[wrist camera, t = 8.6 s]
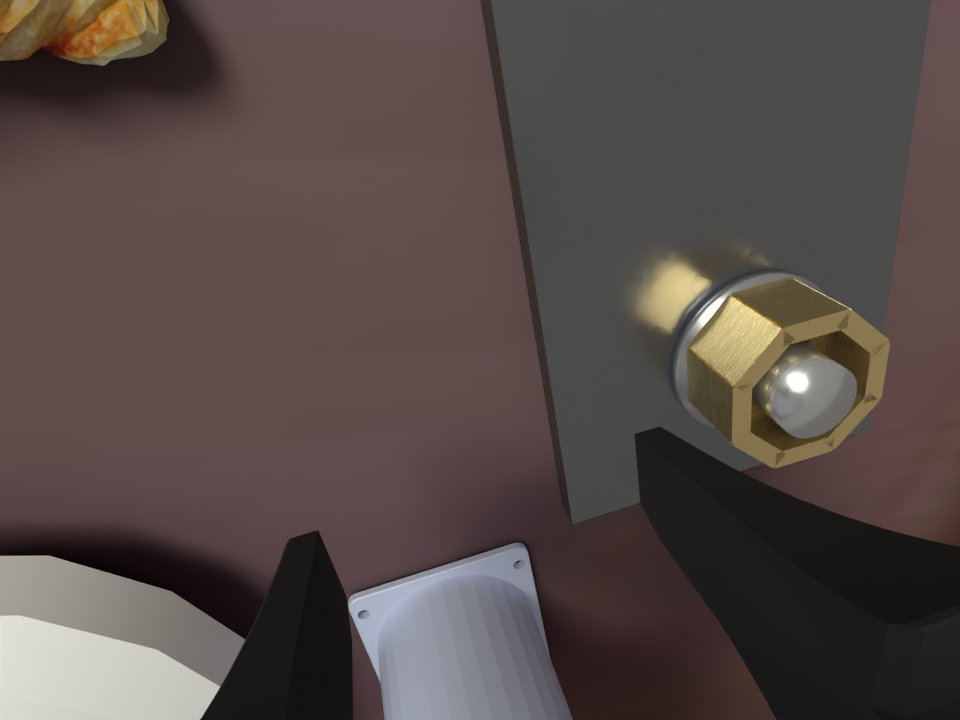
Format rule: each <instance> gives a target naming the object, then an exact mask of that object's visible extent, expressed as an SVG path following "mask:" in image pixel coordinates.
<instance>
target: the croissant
mask: <svg viewBox="0 0 960 720" xmlns="http://www.w3.org/2000/svg"><path fill="white" fill-rule="evenodd" d="M169 21H170V20H169V17H168V15H167V12H166V9H165V7H164V4H163V1H162V0H0V61H7V60H22V59H28V58H29V57H30V56H31V55H32V54H33V53H34V52H35V51H37V50H38V49H39V48H42V49H45V50H48V51H50V52H51V53H52V54H54V55H55V56H56V57H60V58H63V59H67V60H70V61H74V62H77V63H81V64H96V65H101V66H104V65H106V64H107V63H108V62H109V61H111V60H116V59H123V58H134V57H138V56H143V55H146V54H149V53H151V52H153V51H154V50H155V49H156V48H158V47H159V46H160V45H161V44H162V43H163V42H165V41H166V40H167V39H166V32H167V25H168V23H169Z"/></svg>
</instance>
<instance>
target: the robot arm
mask: <svg viewBox="0 0 960 720" xmlns="http://www.w3.org/2000/svg"><path fill="white" fill-rule="evenodd" d="M635 446H636V458H637V470H638V482H639V495H640V503H641V505H642V507H643V509H644V510H645V512H646V514H647V516H648V518H649V520H650V522H651V524H652V525H653V527H654V529H655V531H656V533H657V534H658V536H659V538H660V540H661V541H662V543H663V544H664V546H665V547H666V548H667V550H668V551H669V553H670V554H671V555H672V557H673V558H674V560H675V561H676V562H677V564H678V565H679V567H680V568H681V569H682V571H683V572H684V574H685V575H686V576H687V578H688V579H689V580H690V582H691V583H692V585H693V586H694V587H695V589H696V590H697V592H698V593H699V594H700V596H701V597H702V598H703V600H704V601H705V603H706V604H707V605H708V607H709V608H710V609H711V611H712V612H713V614H714V615H715V616H716V618H717V619H718V621H719V622H720V624H721V625H722V627H723V628H724V630H725V631H726V633H727V634H728V636H729V637H730V639H731V640H732V642H733V644H734V645H735V647H736V649H737V651H738V652H739V654H740V656H741V657H742V659H743V661H744V663H745V664H746V666H747V668H748V669H749V671H750V673H751V675H752V676H753V678H754V680H755V681H756V683H757V685H758V687H759V689H760V690H761V692H762V694H763V696H764V698H765V699H766V701H767V703H768V705H769V707H770V708H771V710H772V712H773V714H774V715H775V717H776V719H777V720H960V547H958V546H952V545H947V544H943V543H939V542H934V541H930V540H926V539H922V538H918V537H914V536H909V535H905V534H902V533H898V532H894V531H891V530H887V529H883V528H880V527H877V526H874V525H870V524H867V523H864V522H861V521H858V520H854V519H851V518H848V517H845V516H842V515H839V514H837V513H834V512H831V511H828V510H826V509H823V508H820V507H818V506H815V505H813V504H810V503H808V502H805V501H802V500H800V499H797V498H795V497H793V496H790V495H788V494H786V493H783V492H781V491H779V490H777V489H775V488H773V487H771V486H768V485H766V484H764V483H762V482H760V481H758V480H756V479H754V478H752V477H750V476H748V475H746V474H744V473H742V472H740V471H738V470H736V469H734V468H732V467H730V466H729V465H727V464H725V463H723V462H721V461H719V460H718V459H716V458H714V457H712V456H710V455H709V454H707V453H705V452H703V451H702V450H700V449H698V448H696V447H695V446H693V445H691V444H689V443H688V442H686V441H684V440H683V439H681V438H679V437H677V436H676V435H674V434H672V433H671V432H669V431H667V430H665V429H664V428H662V427H656V428H653V429H650V430H646V431H643V432H640V433H636V434H635ZM519 560H521V561H520V562H518V563H515V562H517V561H519ZM348 605H349V611H350V613H351V616H352V618H353V620H354V623H355V625H356V627H357V630H358V632H359V634H360V636H361V639H362V641H363V643H364V646H365V648H366V650H367V653H368V655H369V657H370V660H371V662H372V664H373V667H374V669H375V671H376V674H377V676H378V678H379V680H380V683H381V689H382V699H383V709H384V718H385V720H573V718H572V716H571V713H570V710H569V708H568V705H567V702H566V700H565V697H564V694H563V692H562V689H561V686H560V684H559V681H558V678H557V676H556V673H555V670H554V668H553V665H552V663H551V660H550V655H549V650H548V646H547V641H546V636H545V631H544V626H543V622H542V617H541V612H540V607H539V602H538V598H537V593H536V588H535V583H534V578H533V574H532V569H531V564H530V559H529V555H528V551H527V549H526V547H525V545H524V544H522V543H513V544H509V545H506V546H503V547H500V548H497V549H494V550H490V551H487V552H484V553H481V554H478V555H475V556H471V557H468V558H465V559H462V560H459V561H456V562H453V563H449V564H446V565H443V566H440V567H437V568H434V569H430V570H427V571H424V572H421V573H418V574H415V575H411V576H408V577H405V578H402V579H399V580H396V581H393V582H389V583H386V584H383V585H380V586H377V587H374V588H370V589H367V590H364V591H361V592H358V593H355V594H353V595H352V596H351V597H350V598H349V600H348ZM363 610H367V611H365V612H361V611H363ZM200 720H353V687H352V638H351V629H350V621H349V614H348V606H347V599H346V594H345V592H344V589H343V587H342V585H341V582H340V580H339V578H338V575H337V573H336V571H335V568H334V566H333V564H332V561H331V559H330V557H329V554H328V552H327V550H326V547H325V545H324V543H323V540H322V538H321V536H320V533H319V531H318V530H317V531H314V532H311V533H307V534H304V535H301V536H297V537H294V538H291V539H289V541H288V542H287V544H286V546H285V549H284V552H283V554H282V557H281V560H280V562H279V565H278V567H277V570H276V573H275V575H274V578H273V580H272V582H271V585H270V587H269V590H268V592H267V594H266V597H265V599H264V601H263V603H262V606H261V608H260V610H259V612H258V614H257V617H256V619H255V621H254V623H253V625H252V628H251V630H250V632H249V634H248V636H247V638H246V640H245V642H244V644H243V645H242V647H241V649H240V651H239V653H238V655H237V657H236V659H235V661H234V663H233V665H232V667H231V669H230V671H229V672H228V674H227V676H226V678H225V679H224V681H223V683H222V685H221V686H220V688H219V690H218V692H217V693H216V695H215V697H214V698H213V700H212V701H211V703H210V705H209V706H208V708H207V710H206V711H205V713H204V714H203V716H202V718H201V719H200Z"/></svg>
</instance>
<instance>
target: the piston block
mask: <svg viewBox="0 0 960 720" xmlns="http://www.w3.org/2000/svg"><path fill="white" fill-rule="evenodd" d="M930 4H931V0H481V5H482V12H483V18H484V24H485V30H486V36H487V42H488V48H489V55H490V61H491V67H492V73H493V79H494V85H495V91H496V98H497V104H498V110H499V116H500V122H501V128H502V135H503V141H504V147H505V153H506V159H507V165H508V171H509V178H510V184H511V190H512V196H513V202H514V208H515V214H516V221H517V227H518V233H519V239H520V245H521V251H522V258H523V264H524V270H525V276H526V282H527V288H528V294H529V301H530V307H531V313H532V319H533V325H534V331H535V337H536V344H537V350H538V356H539V362H540V368H541V374H542V381H543V387H544V393H545V399H546V405H547V411H548V417H549V424H550V430H551V436H552V442H553V448H554V454H555V460H556V467H557V473H558V479H559V485H560V491H561V497H562V504H563V507H564V509H565V511H566V513H567V515H568V517H569V518H570V520H571V522H572V524H575V523H578V522H581V521H584V520H587V519H590V518H594V517H597V516H600V515H603V514H606V513H609V512H613V511H616V510H619V509H622V508H625V507H628V506H631V505H635V504H638V503H640V495H639V482H638V470H637V458H636V446H635V434H636V433H640V432H643V431H646V430H650V429H653V428H656V427H662V428H664V429H665V430H667V431H669V432H671V433H672V434H674V435H676V436H677V437H679V438H681V439H683V440H684V441H686V442H688V443H689V444H691V445H693V446H695V447H696V448H698V449H700V450H702V451H703V452H705V453H707V454H709V455H710V456H712V457H714V458H716V459H718V460H719V461H721V462H723V463H725V464H727V465H729V466H730V467H732V468H734V469H736V470H738V471H742V470H745V469H748V468H751V467H755V466H758V465H761V464H764V463H763V462H761V461H759V460H757V459H756V458H754V457H752V456H750V455H749V454H747V453H745V452H743V451H742V450H740V449H738V448H736V447H735V446H733V445H732V444H731V443H730V442H729V441H728V440H727V439H726V438H725V437H724V436H723V435H722V434H721V433H720V432H719V431H718V430H717V429H716V428H715V427H714V426H713V425H712V424H711V423H710V422H709V421H708V420H707V419H706V418H705V417H704V416H703V415H702V414H701V413H700V412H699V411H698V410H697V409H696V408H695V407H694V406H693V405H692V404H691V403H690V402H689V401H688V393H687V348H689V347H688V345H689V344H690V342H691V341H692V340H693V339H694V337H695V336H696V335H697V334H698V332H699V331H700V330H701V329H702V327H703V326H704V325H705V324H706V322H707V321H708V320H709V319H710V317H711V316H712V315H713V314H714V312H715V311H716V310H717V309H718V308H719V306H720V305H721V304H722V303H723V301H724V300H725V299H726V298H727V296H728V295H730V296H731V293H733V292H737V291H740V290H744V289H748V288H751V287H755V286H759V285H762V284H766V283H770V282H773V281H777V280H780V279H784V278H788V277H790V278H793V279H795V280H797V281H799V282H801V283H803V284H805V285H807V286H808V287H810V288H812V289H814V290H816V291H818V292H820V293H822V294H824V295H826V296H827V297H829V298H831V299H833V300H835V301H837V302H839V303H841V304H843V305H845V306H846V307H848V308H850V309H852V310H853V311H854V312H856V313H857V314H858V315H859V316H861V317H862V318H863V319H864V320H865V321H867V322H868V323H869V324H870V325H872V326H873V327H874V328H875V329H877V330H878V331H879V332H880V333H881V334H883V330H884V323H885V316H886V309H887V302H888V295H889V288H890V281H891V274H892V267H893V260H894V253H895V247H896V240H897V233H898V226H899V219H900V212H901V205H902V198H903V191H904V184H905V177H906V170H907V163H908V156H909V150H910V143H911V136H912V129H913V122H914V115H915V108H916V101H917V94H918V87H919V80H920V73H921V66H922V59H923V53H924V46H925V39H926V32H927V25H928V18H929V11H930ZM856 393H857V382H856V379H855V377H854V375H853V374H852V372H850V371H849V370H848V369H846V368H845V367H843V366H842V365H840V364H838V363H837V362H835V361H834V360H832V359H831V358H829V357H828V356H826V355H825V354H823V353H821V352H820V351H818V350H817V349H815V348H814V347H812V346H811V345H809V339H808V340H804V341H801V342H797V343H794V344H790V345H789V346H788V348H787V349H786V350H785V351H784V352H783V353H782V355H781V356H780V357H779V358H778V359H777V360H776V362H775V363H774V364H773V365H772V366H771V367H770V369H769V370H768V371H767V372H766V373H765V374H764V376H763V377H762V378H761V379H760V380H759V381H758V383H757V384H756V385H755V386H754V387H753V388H752V403H754V404H755V405H756V406H757V407H758V408H760V409H761V410H762V411H763V412H764V413H765V414H767V415H768V416H769V417H770V418H771V419H772V420H774V421H775V422H776V423H777V424H778V425H779V426H781V427H782V428H783V429H784V430H785V431H786V432H788V433H789V434H790V435H792V436H794V437H797V438H812V437H816V436H819V435H821V434H823V433H826V432H827V431H829V430H831V429H832V428H833V427H835V426H836V425H837V424H838V423H839V422H840V421H841V420H842V419H843V418H844V417H845V416H846V415H847V413H848V412H849V411H850V409H851V407H852V405H853V403H854V401H855V398H856ZM871 413H872V410H871V411H870V412H869V413H868V414H867V415H866V416H865V417H864V418H863V419H862V420H861V422H860V423H859V424H858V425H857V426H856V427H855V428H854V429H853V430H852V431H851V432H850V433H849V434H848V435H847V437H849V436H853V435H856V434H859V433H862V432H865V431H868V430H869V427H870V420H871Z"/></svg>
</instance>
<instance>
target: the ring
mask: <svg viewBox="0 0 960 720" xmlns="http://www.w3.org/2000/svg"><path fill="white" fill-rule="evenodd" d="M808 339H809V345H811V346H812V347H814V348H815V349H817V350H818V351H820V352H821V353H823V354H825V355H826V356H828V357H829V358H831V359H832V360H834V361H835V362H837V363H838V364H840V365H842V366H843V367H845V368H846V369H848V370H849V371H850V372H852V374H853V375H854V377H855V379H856V382H857V393H856V398H855V401H854V403H853V405H852V407H851V409H850V411H849V412H848V413H847V415H846V416H845V417H844V418H843V419H842V420H841V421H840V422H839V423H838V424H837V425H836V426H835V427H833V428H832V429H831V430H829V431H827V432H826V433H823V434H821V435H819V436H816V437H812V438H797V437H794V436H792V435H790V434H789V433H788V432H786V431H785V430H784V429H783V428H782V427H781V426H779V425H778V424H777V423H776V422H775V421H774V420H772V419H771V418H770V417H769V416H768V415H767V414H765V413H764V412H763V411H762V410H761V409H760V408H758V407H757V406H756V405H755V404H754V403H752V388H753V387H754V386H755V385H756V384H757V383H758V381H759V380H760V379H761V378H762V377H763V376H764V374H765V373H766V372H767V371H768V370H769V369H770V367H771V366H772V365H773V364H774V363H775V362H776V360H777V359H778V358H779V357H780V356H781V355H782V353H783V352H784V351H785V350H786V349H787V348H788V346H789V345H790V344H794V343H797V342H801V341H804V340H808ZM688 347H689V348H687V393H688V401H689V402H690V403H691V404H692V405H693V406H694V407H695V408H696V409H697V410H698V411H699V412H700V413H701V414H702V415H703V416H704V417H705V418H706V419H707V420H708V421H709V422H710V423H711V424H712V425H713V426H714V427H715V428H716V429H717V430H718V431H719V432H720V433H721V434H722V435H723V436H724V437H725V438H726V439H727V440H728V441H729V442H730V443H731V444H732V445H733V446H735V447H736V448H738V449H740V450H742V451H743V452H745V453H747V454H749V455H750V456H752V457H754V458H756V459H757V460H759V461H761V462H763V463H764V464H766V465H768V466H770V467H772V468H775V469H776V468H779V467H782V466H785V465H788V464H792V463H795V462H798V461H801V460H805V459H808V458H811V457H814V456H817V455H821V454H824V453H827V452H830V451H832V450H833V449H835V448H836V447H837V446H838V445H839V444H840V443H841V442H842V441H843V440H844V439H845V438H846V437H847V435H848V434H849V433H850V432H851V431H852V430H853V429H854V428H855V427H856V426H857V425H858V424H859V423H860V422H861V420H862V419H863V418H864V417H865V416H866V415H867V414H868V413H869V412H870V411H871V410H872V409H873V408H874V407H875V405H876V404H877V403H878V402H879V401H880V400H878V399H881V397H882V391H883V385H884V379H885V372H886V366H887V360H888V354H889V347H890V342H889V339H888V338H886V337H885V336H884V335H883V334H881V333H880V332H879V331H878V330H877V329H875V328H874V327H873V326H872V325H870V324H869V323H868V322H867V321H865V320H864V319H863V318H862V317H861V316H859V315H858V314H857V313H856V312H854V311H853V310H852V309H850V308H848V307H846V306H845V305H843V304H841V303H839V302H837V301H835V300H833V299H831V298H829V297H827V296H826V295H824V294H822V293H820V292H818V291H816V290H814V289H812V288H810V287H808V286H807V285H805V284H803V283H801V282H799V281H797V280H795V279H793V278H790V277H788V278H784V279H780V280H777V281H773V282H770V283H766V284H762V285H759V286H755V287H751V288H748V289H744V290H740V291H737V292H733V293H731V296H730V295H728V296H727V298H726V299H725V300H724V301H723V303H722V304H721V305H720V306H719V308H718V309H717V310H716V311H715V312H714V314H713V315H712V316H711V317H710V319H709V320H708V321H707V322H706V324H705V325H704V326H703V327H702V329H701V330H700V331H699V332H698V334H697V335H696V336H695V337H694V339H693V340H692V341H691V342H690V344H689V345H688Z"/></svg>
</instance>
